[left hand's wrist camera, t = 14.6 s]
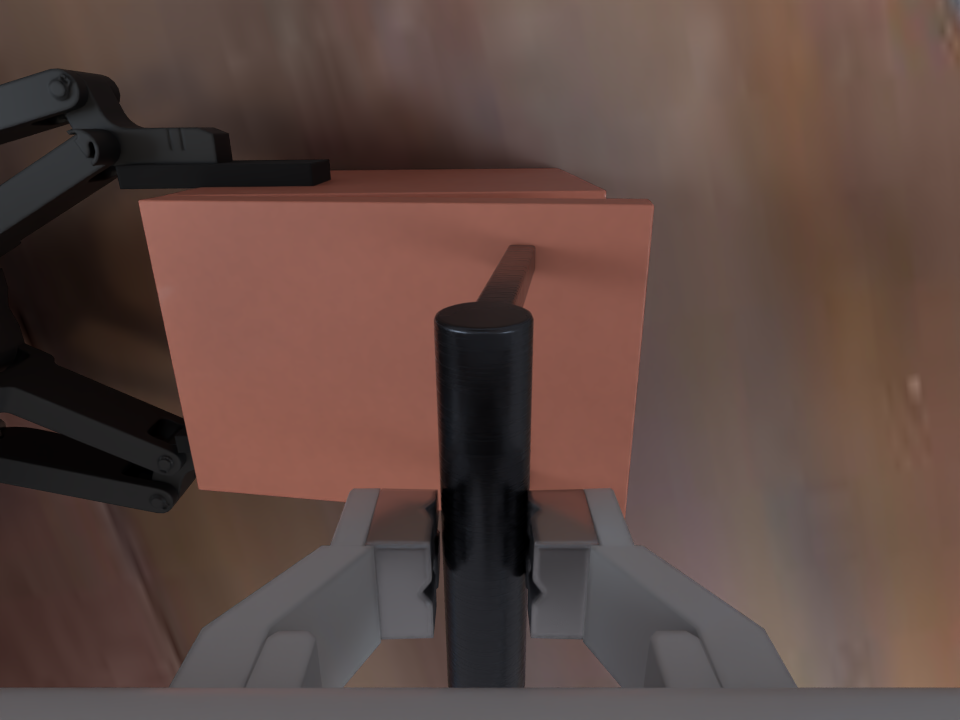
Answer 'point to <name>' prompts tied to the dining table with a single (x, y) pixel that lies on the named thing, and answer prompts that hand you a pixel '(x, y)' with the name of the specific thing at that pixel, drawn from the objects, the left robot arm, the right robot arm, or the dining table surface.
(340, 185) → the chest
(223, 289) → the lid
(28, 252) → the dining table surface
